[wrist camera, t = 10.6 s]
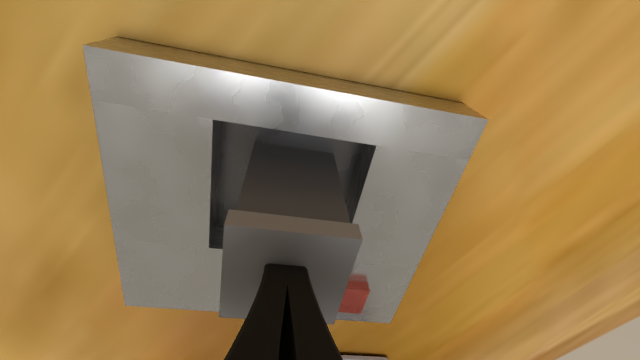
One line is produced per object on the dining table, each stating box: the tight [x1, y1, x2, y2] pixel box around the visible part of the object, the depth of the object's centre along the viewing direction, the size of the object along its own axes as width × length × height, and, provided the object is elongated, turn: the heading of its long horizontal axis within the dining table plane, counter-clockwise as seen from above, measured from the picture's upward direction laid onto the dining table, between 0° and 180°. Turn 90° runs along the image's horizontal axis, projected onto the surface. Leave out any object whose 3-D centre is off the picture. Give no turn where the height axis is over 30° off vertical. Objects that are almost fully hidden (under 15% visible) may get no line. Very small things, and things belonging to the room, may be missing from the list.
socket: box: [83, 37, 488, 323], centre depth 17 cm, size 14×16×3 cm
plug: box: [219, 142, 363, 324], centre depth 14 cm, size 4×4×7 cm
